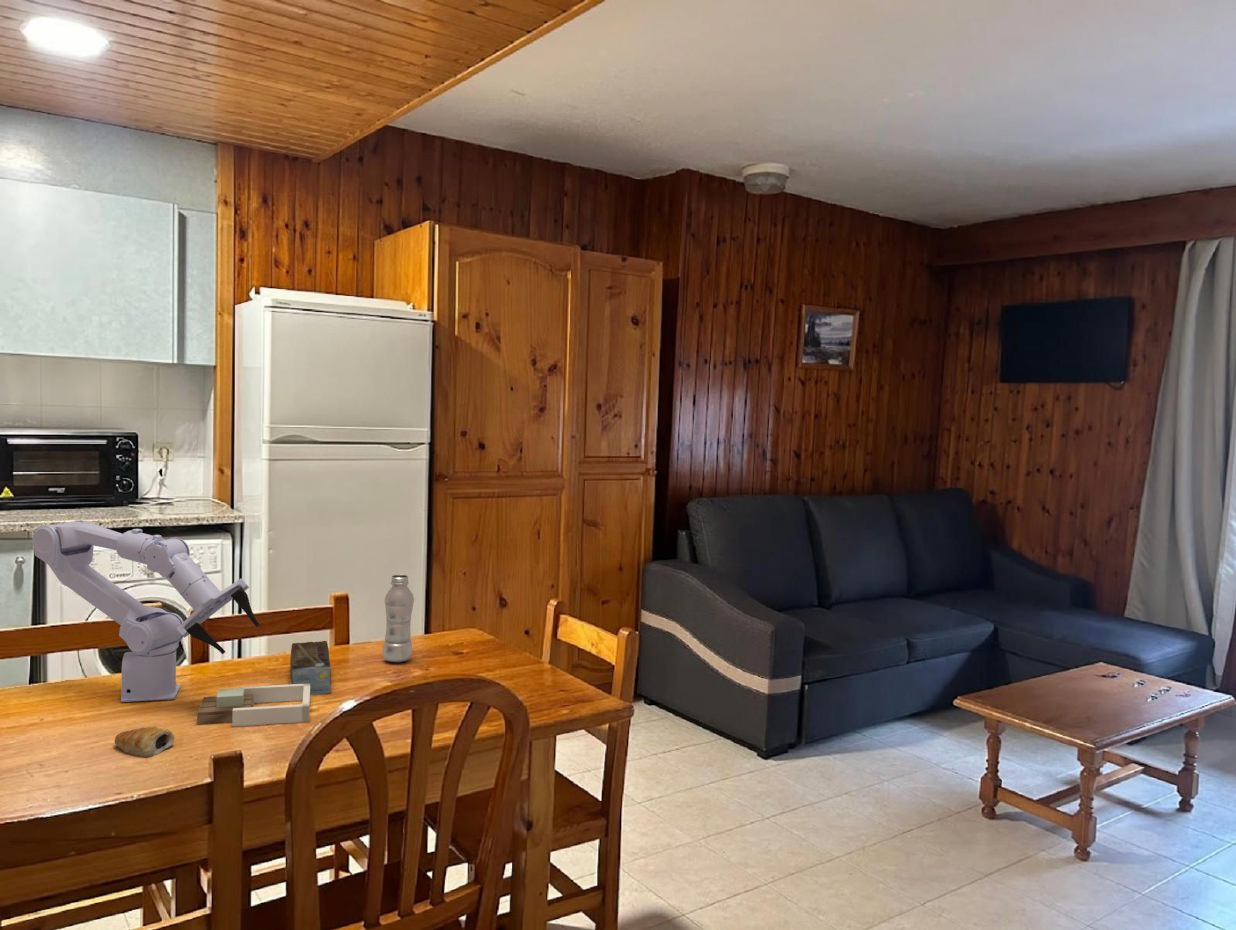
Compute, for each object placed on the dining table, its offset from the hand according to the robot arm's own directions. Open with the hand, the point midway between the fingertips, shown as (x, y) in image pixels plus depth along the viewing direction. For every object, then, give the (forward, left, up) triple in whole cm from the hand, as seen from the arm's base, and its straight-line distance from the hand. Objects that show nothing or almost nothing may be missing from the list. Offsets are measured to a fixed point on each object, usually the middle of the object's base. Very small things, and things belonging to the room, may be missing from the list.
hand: (240, 638), depth 171 cm
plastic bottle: (+32, +26, -14) cm, 43 cm away
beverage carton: (+13, +15, -14) cm, 24 cm away
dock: (+6, -3, -14) cm, 15 cm away
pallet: (-2, -3, -14) cm, 15 cm away
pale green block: (-1, -3, -12) cm, 12 cm away
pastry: (-13, -17, -14) cm, 26 cm away
